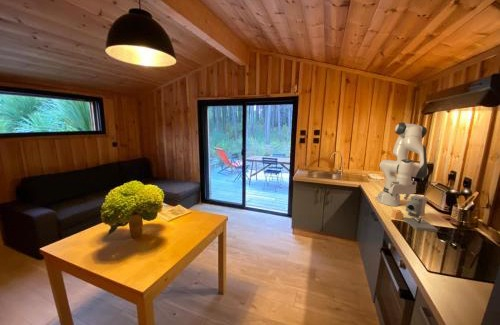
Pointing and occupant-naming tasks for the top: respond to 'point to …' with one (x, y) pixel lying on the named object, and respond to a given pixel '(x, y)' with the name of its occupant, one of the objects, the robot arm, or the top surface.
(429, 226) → the junction plate
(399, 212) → the wire nut
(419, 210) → the circuit breaker
